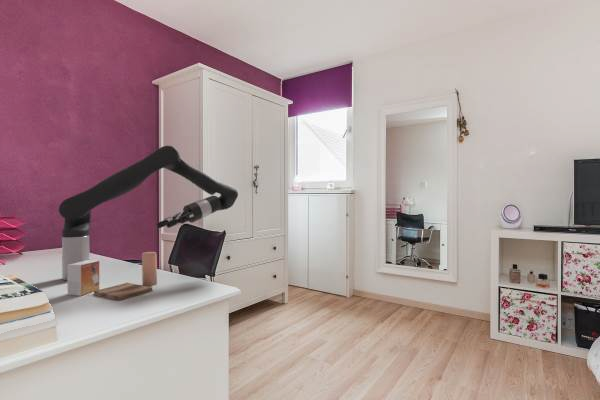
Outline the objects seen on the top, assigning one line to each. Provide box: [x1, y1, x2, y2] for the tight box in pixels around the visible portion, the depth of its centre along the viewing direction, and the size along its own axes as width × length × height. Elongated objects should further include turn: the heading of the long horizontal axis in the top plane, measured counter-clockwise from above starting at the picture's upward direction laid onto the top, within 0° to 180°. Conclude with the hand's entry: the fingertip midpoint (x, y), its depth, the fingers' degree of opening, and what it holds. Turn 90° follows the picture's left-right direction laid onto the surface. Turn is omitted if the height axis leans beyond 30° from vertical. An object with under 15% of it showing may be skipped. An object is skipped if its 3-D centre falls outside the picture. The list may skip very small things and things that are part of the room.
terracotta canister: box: [141, 251, 158, 287], centre depth 122 cm, size 5×5×12 cm
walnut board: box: [93, 282, 153, 302], centre depth 112 cm, size 14×12×1 cm
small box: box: [67, 260, 100, 297], centre depth 113 cm, size 8×6×10 cm
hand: (162, 225), depth 124 cm, fingers open, 8 cm apart
